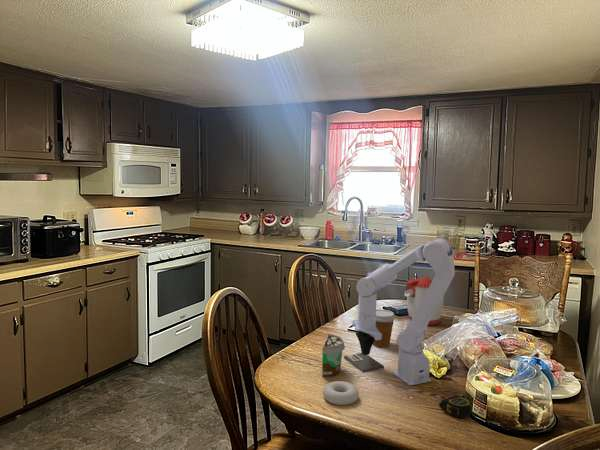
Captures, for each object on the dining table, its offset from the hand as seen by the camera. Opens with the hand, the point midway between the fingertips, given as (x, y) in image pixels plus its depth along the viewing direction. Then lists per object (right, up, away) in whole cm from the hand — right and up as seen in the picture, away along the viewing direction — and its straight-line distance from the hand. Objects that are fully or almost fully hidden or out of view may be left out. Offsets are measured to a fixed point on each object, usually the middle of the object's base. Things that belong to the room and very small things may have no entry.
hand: (365, 354), depth 147 cm
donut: (-10, -7, -21) cm, 24 cm away
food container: (-11, -4, -4) cm, 12 cm away
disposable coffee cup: (+8, -2, +19) cm, 21 cm away
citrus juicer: (+31, 0, +47) cm, 56 cm away
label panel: (0, -4, +2) cm, 4 cm away
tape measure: (+19, -8, -28) cm, 35 cm away
